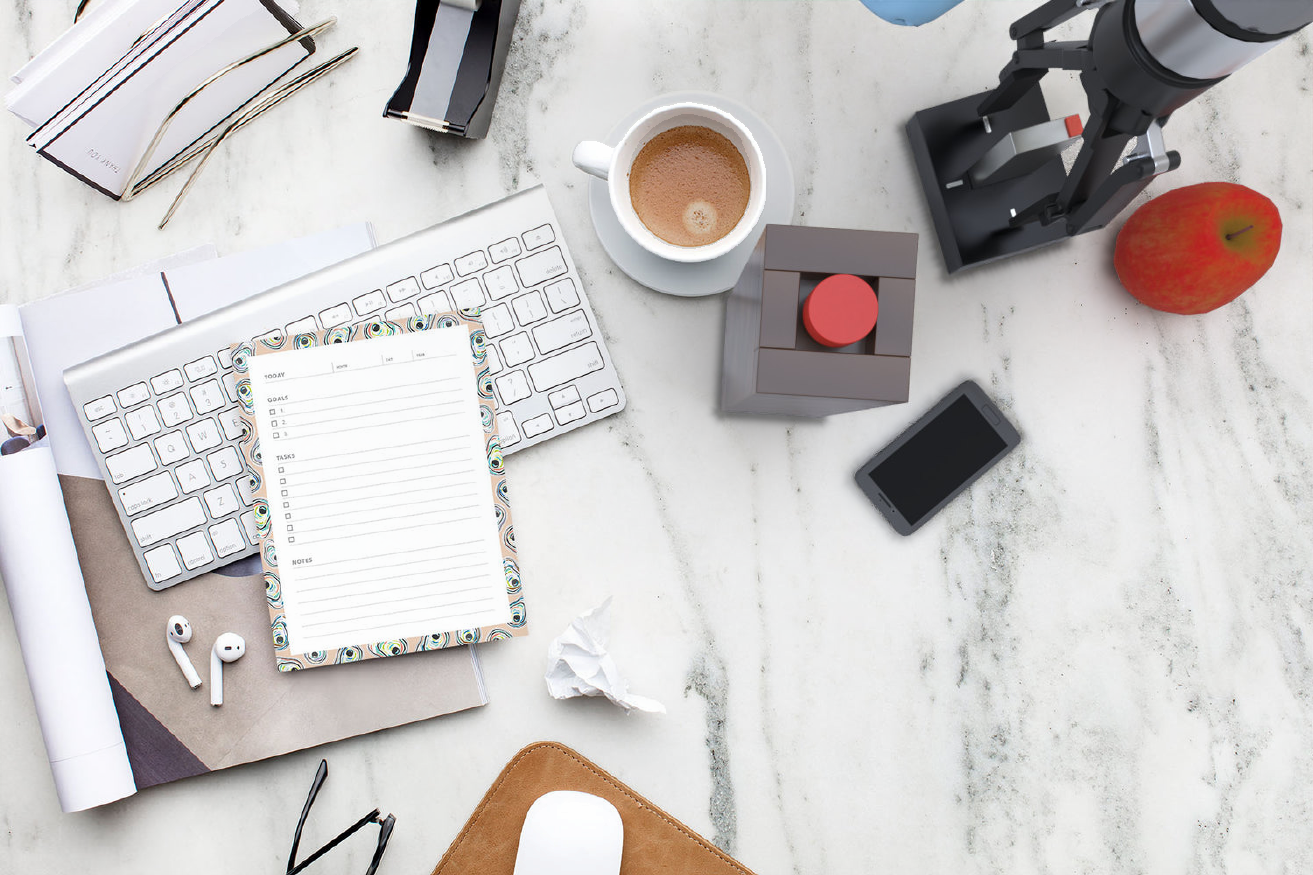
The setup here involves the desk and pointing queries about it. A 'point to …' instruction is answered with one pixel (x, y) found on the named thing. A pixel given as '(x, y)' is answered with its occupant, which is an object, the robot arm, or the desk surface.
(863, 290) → the button
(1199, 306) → the apple
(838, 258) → the block
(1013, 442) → the cell phone
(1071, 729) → the desk surface
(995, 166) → the stove knob
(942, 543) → the desk surface
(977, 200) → the panel
